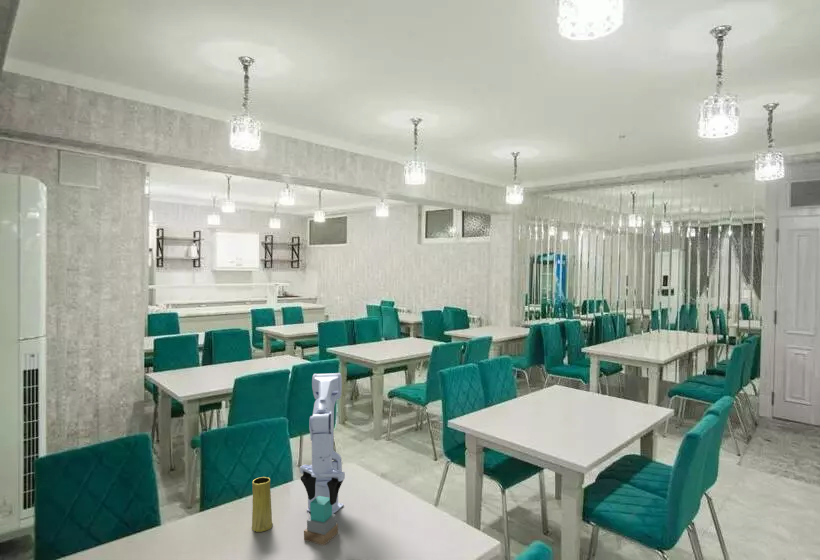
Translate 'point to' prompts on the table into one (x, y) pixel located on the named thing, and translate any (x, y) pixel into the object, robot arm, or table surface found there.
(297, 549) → the table surface
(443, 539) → the table surface
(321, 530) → the slate slab
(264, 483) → the vase
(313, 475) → the robot arm
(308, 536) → the walnut slab
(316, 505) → the teal block
